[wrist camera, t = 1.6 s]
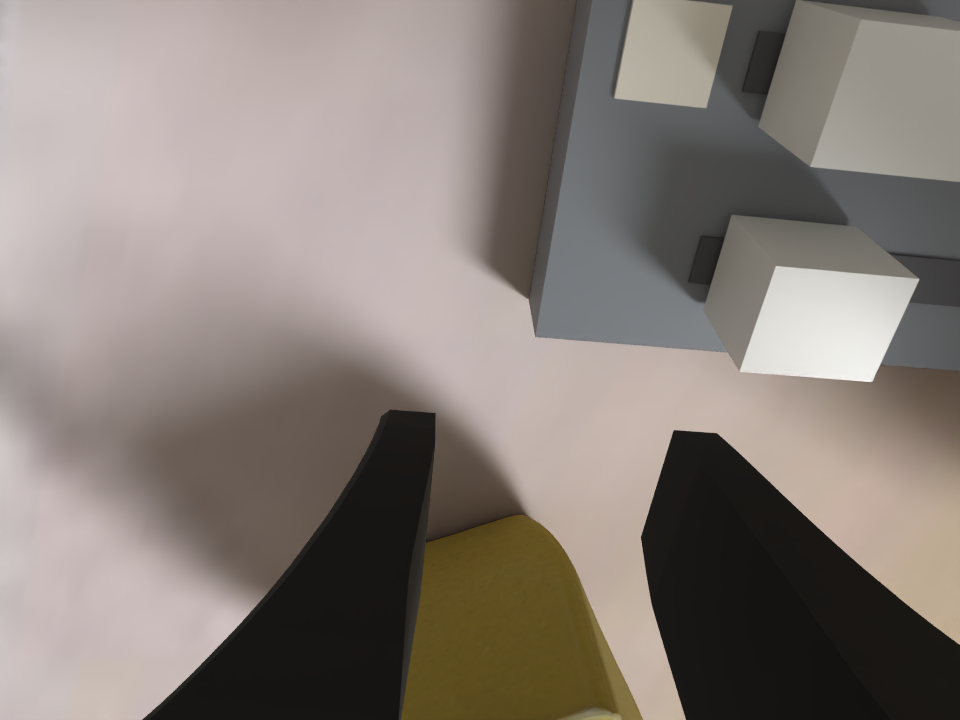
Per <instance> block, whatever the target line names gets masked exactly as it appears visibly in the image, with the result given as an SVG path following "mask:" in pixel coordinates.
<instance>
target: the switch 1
mask: <svg viewBox="0 0 960 720" xmlns="http://www.w3.org/2000/svg"><path fill="white" fill-rule="evenodd" d="M758 127H759V128H760V129H762V130H763V131H764V132H765V133H767V134H768V135H769V136H771V137H772V138H773V139H775V140H776V141H777V142H778V143H780V144H781V145H782V146H784V147H785V148H786V149H788V150H789V151H790V152H792V153H793V154H794V155H795V156H797V157H798V158H799V159H801V160H802V161H803V162H805V163H806V164H807V165H808V166H810V167H816V168H826V169H836V170H846V171H856V172H865V173H875V174H885V175H895V176H905V177H914V178H924V179H934V180H944V181H954V182H960V22H958V21H954V20H950V19H946V18H942V17H937V16H929V15H920V14H912V13H903V12H895V11H887V10H878V9H870V8H862V7H853V6H845V5H837V4H828V3H820V2H812V1H803V0H796V2H795V6H794V9H793V12H792V16H791V19H790V22H789V26H788V29H787V32H786V36H785V39H784V42H783V46H782V49H781V52H780V56H779V59H778V62H777V66H776V69H775V72H774V76H773V79H772V82H771V86H770V89H769V92H768V96H767V99H766V102H765V106H764V109H763V112H762V116H761V119H760V122H759V126H758Z"/></svg>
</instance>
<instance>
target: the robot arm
mask: <svg viewBox="0 0 960 720" xmlns="http://www.w3.org/2000/svg"><path fill="white" fill-rule="evenodd" d="M434 450H435V413H427V412H413V411H399V410H389V411H388V412H387V413H385V414H384V415H382V416H381V419H380V422H379V425H378V428H377V430H376V432H375V435H374V437H373V439H372V441H371V443H370V445H369V447H368V449H367V451H366V453H365V455H364V457H363V459H362V460H361V462H360V464H359V466H358V468H357V469H356V471H355V473H354V475H353V476H352V478H351V479H350V481H349V482H348V484H347V486H346V487H345V489H344V490H343V492H342V493H341V495H340V497H339V498H338V500H337V501H336V503H335V504H334V506H333V508H332V509H331V511H330V512H329V514H328V515H327V517H326V518H325V519H324V521H323V522H322V524H321V525H320V526H319V528H318V529H317V530H316V532H315V533H314V534H313V536H312V537H311V538H310V540H309V541H308V542H307V544H306V545H305V546H304V548H303V549H302V551H301V552H300V553H299V555H298V556H297V557H296V559H295V560H294V561H293V563H292V564H291V565H290V566H289V568H288V569H287V570H286V571H285V573H284V574H283V575H282V576H281V577H280V579H279V580H278V581H277V582H276V584H275V585H274V586H273V587H272V588H271V590H270V591H269V592H268V593H267V594H266V595H265V597H264V598H263V599H262V600H261V601H260V602H259V603H258V605H257V606H256V607H255V608H254V609H253V610H252V611H251V612H250V614H249V615H248V616H247V617H246V618H245V619H244V620H243V621H242V623H241V624H240V625H239V626H238V627H237V628H236V629H235V630H234V631H233V632H232V633H231V634H230V635H229V636H228V637H227V638H226V639H225V640H224V641H223V642H222V644H221V645H220V646H219V647H218V648H217V649H216V650H215V651H214V652H213V653H212V654H211V655H210V656H209V657H208V658H207V659H206V660H205V661H204V662H203V663H202V664H201V665H200V666H199V667H198V668H197V669H196V670H195V671H194V672H193V673H192V674H191V675H190V676H189V677H188V678H187V679H186V680H185V681H184V682H183V683H182V684H181V685H180V686H179V687H178V688H177V689H176V690H175V691H174V692H173V693H171V694H170V695H169V696H168V697H167V698H166V699H165V700H164V701H163V702H162V703H161V704H160V705H158V706H157V707H156V708H155V709H154V710H153V711H152V712H151V713H149V714H148V715H147V716H146V717H145V718H144V719H143V720H401V715H402V709H403V702H404V696H405V690H406V683H407V677H408V671H409V664H410V658H411V652H412V645H413V639H414V633H415V626H416V620H417V614H418V607H419V601H420V594H421V585H422V575H423V564H424V554H425V544H426V533H427V523H428V512H429V502H430V491H431V481H432V471H433V460H434ZM641 541H642V547H643V554H644V561H645V568H646V574H647V580H648V586H649V591H650V597H651V603H652V607H653V610H654V614H655V617H656V621H657V624H658V628H659V631H660V634H661V638H662V641H663V645H664V648H665V651H666V655H667V658H668V662H669V665H670V668H671V671H672V675H673V678H674V681H675V685H676V688H677V691H678V695H679V698H680V701H681V704H682V708H683V711H684V714H685V718H686V720H960V645H959V644H958V643H956V642H955V641H954V640H952V639H951V638H950V637H948V636H947V635H945V634H944V633H943V632H941V631H940V630H939V629H937V628H936V627H935V626H933V625H932V624H931V623H929V622H928V621H927V620H926V619H924V618H923V617H922V616H921V615H919V614H918V613H917V612H915V611H914V610H913V609H912V608H910V607H909V606H908V605H907V604H905V603H904V602H903V601H902V600H900V599H899V598H898V597H897V596H896V595H895V594H893V593H892V592H891V591H890V590H889V589H887V588H886V587H885V586H884V585H883V584H881V583H880V582H879V581H878V580H877V579H875V578H874V577H873V576H872V575H871V574H869V573H868V572H867V571H866V570H865V569H863V568H862V567H861V566H860V565H859V564H858V563H857V562H855V561H854V560H853V559H852V558H851V557H850V556H849V555H847V554H846V553H845V552H844V551H843V550H842V549H841V548H840V547H838V546H837V545H836V544H835V543H834V542H833V541H832V540H831V539H830V538H828V537H827V536H826V535H825V534H824V533H823V532H822V531H821V530H820V529H819V528H817V527H816V526H815V525H814V524H813V523H812V522H811V521H810V520H809V519H808V518H807V517H806V516H805V515H803V514H802V513H801V512H800V511H799V510H798V509H797V508H796V507H795V506H794V505H793V504H792V503H791V502H790V501H789V500H788V499H787V498H785V497H784V496H783V495H782V494H781V493H780V492H779V491H778V490H777V489H776V488H775V487H774V486H773V485H772V484H771V483H770V482H769V481H768V480H767V479H766V478H765V477H764V476H762V475H761V474H760V473H759V472H758V471H757V470H756V469H755V468H754V467H753V466H752V465H751V464H750V463H749V462H748V461H747V460H746V459H745V458H744V457H743V456H741V455H740V454H739V453H738V452H737V451H736V450H735V449H734V448H733V447H732V446H731V445H730V444H728V443H727V442H726V441H725V440H724V439H723V438H722V437H720V436H719V435H718V434H717V433H705V432H691V431H677V430H674V431H673V434H672V438H671V441H670V444H669V448H668V451H667V454H666V457H665V461H664V464H663V467H662V470H661V474H660V477H659V480H658V484H657V487H656V490H655V493H654V497H653V500H652V503H651V506H650V510H649V513H648V516H647V520H646V523H645V526H644V529H643V533H642V536H641Z"/></svg>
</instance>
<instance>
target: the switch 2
mask: <svg viewBox="0 0 960 720" xmlns="http://www.w3.org/2000/svg"><path fill="white" fill-rule="evenodd" d="M918 281H919V278H918V277H917V276H915V275H914V274H913V273H912V272H911V271H909V270H908V269H907V268H906V267H905V266H903V265H902V264H901V263H900V262H898V261H897V260H896V259H895V258H894V257H892V256H891V255H890V254H889V253H888V252H886V251H885V250H884V249H883V248H882V247H880V246H879V245H878V244H877V243H876V242H874V241H873V240H872V239H871V238H870V237H868V236H867V235H866V234H865V233H863V232H862V231H861V230H860V229H859V228H857V227H856V226H845V225H835V224H824V223H814V222H803V221H793V220H782V219H772V218H762V217H751V216H741V215H732V216H731V219H730V222H729V226H728V229H727V232H726V236H725V239H724V242H723V246H722V249H721V252H720V256H719V259H718V262H717V266H716V269H715V272H714V276H713V279H712V282H711V286H710V289H709V292H708V296H707V299H706V302H705V306H704V309H703V311H704V313H705V314H706V316H707V318H708V319H709V321H710V323H711V324H712V326H713V328H714V330H715V331H716V333H717V335H718V336H719V338H720V340H721V341H722V343H723V345H724V346H725V348H726V350H727V351H728V353H729V355H730V357H731V358H732V360H733V362H734V363H735V365H736V367H737V368H738V370H739V372H750V373H763V374H776V375H788V376H801V377H814V378H826V379H839V380H852V381H864V382H872V381H873V379H874V377H875V375H876V372H877V370H878V368H879V366H880V364H881V362H882V359H883V357H884V355H885V353H886V351H887V349H888V346H889V344H890V342H891V340H892V338H893V336H894V333H895V331H896V329H897V327H898V325H899V323H900V320H901V318H902V316H903V314H904V312H905V310H906V307H907V305H908V303H909V301H910V299H911V297H912V294H913V292H914V290H915V288H916V286H917V284H918Z"/></svg>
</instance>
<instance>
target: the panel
mask: <svg viewBox="0 0 960 720" xmlns="http://www.w3.org/2000/svg"><path fill="white" fill-rule="evenodd" d="M803 1H812V2H820V3H828V4H837V5H845V6H853V7H862V8H870V9H878V10H887V11H895V12H903V13H912V14H920V15H929V16H937V17H942V18H946V19H950V20H954V21H958V22H960V0H803ZM795 2H796V0H577V2H576V9H575V15H574V21H573V28H572V34H571V40H570V46H569V53H568V59H567V65H566V71H565V78H564V84H563V90H562V97H561V103H560V109H559V115H558V122H557V128H556V134H555V140H554V147H553V153H552V159H551V166H550V172H549V178H548V184H547V191H546V197H545V203H544V209H543V216H542V222H541V228H540V235H539V241H538V247H537V253H536V260H535V266H534V272H533V278H532V285H531V291H530V297H529V304H530V309H531V315H532V321H533V326H534V332H535V337H543V338H555V339H567V340H580V341H592V342H605V343H617V344H629V345H642V346H654V347H666V348H679V349H691V350H704V351H716V352H728V351H727V350H726V348H725V346H724V345H723V343H722V341H721V340H720V338H719V336H718V335H717V333H716V331H715V330H714V328H713V326H712V324H711V323H710V321H709V319H708V318H707V316H706V314H705V313H704V311H703V309H704V306H705V302H706V299H707V296H708V292H709V289H710V286H711V282H712V279H713V276H714V272H715V269H716V266H717V262H718V259H719V256H720V252H721V249H722V246H723V242H724V239H725V236H726V232H727V229H728V226H729V222H730V219H731V216H732V215H741V216H751V217H762V218H772V219H782V220H793V221H803V222H814V223H824V224H835V225H845V226H856V227H857V228H859V229H860V230H861V231H862V232H863V233H865V234H866V235H867V236H868V237H870V238H871V239H872V240H873V241H874V242H876V243H877V244H878V245H879V246H880V247H882V248H883V249H884V250H885V251H886V252H888V253H889V254H890V255H891V256H892V257H894V258H895V259H896V260H897V261H898V262H900V263H901V264H902V265H903V266H905V267H906V268H907V269H908V270H909V271H911V272H912V273H913V274H914V275H915V276H917V277H918V278H919V281H918V284H917V286H916V288H915V290H914V292H913V294H912V297H911V299H910V301H909V303H908V305H907V307H906V310H905V312H904V314H903V316H902V318H901V320H900V323H899V325H898V327H897V329H896V331H895V333H894V336H893V338H892V340H891V342H890V344H889V346H888V349H887V351H886V353H885V355H884V357H883V359H882V362H881V364H880V365H889V366H902V367H914V368H926V369H939V370H951V371H960V182H954V181H944V180H934V179H924V178H914V177H905V176H895V175H885V174H875V173H865V172H856V171H846V170H836V169H826V168H816V167H810V166H808V165H807V164H806V163H805V162H803V161H802V160H801V159H799V158H798V157H797V156H795V155H794V154H793V153H792V152H790V151H789V150H788V149H786V148H785V147H784V146H782V145H781V144H780V143H778V142H777V141H776V140H775V139H773V138H772V137H771V136H769V135H768V134H767V133H765V132H764V131H763V130H762V129H760V128H759V127H758V126H759V122H760V119H761V116H762V112H763V109H764V106H765V102H766V99H767V96H768V92H769V89H770V86H771V82H772V79H773V76H774V72H775V69H776V66H777V62H778V59H779V56H780V52H781V49H782V46H783V42H784V39H785V36H786V32H787V29H788V26H789V22H790V19H791V16H792V12H793V9H794V6H795Z"/></svg>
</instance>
